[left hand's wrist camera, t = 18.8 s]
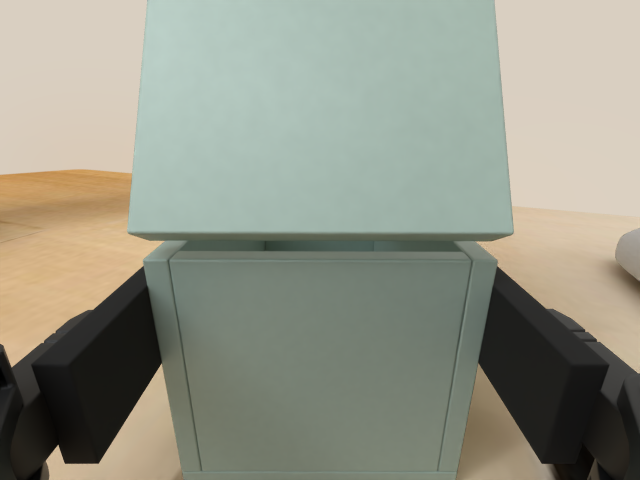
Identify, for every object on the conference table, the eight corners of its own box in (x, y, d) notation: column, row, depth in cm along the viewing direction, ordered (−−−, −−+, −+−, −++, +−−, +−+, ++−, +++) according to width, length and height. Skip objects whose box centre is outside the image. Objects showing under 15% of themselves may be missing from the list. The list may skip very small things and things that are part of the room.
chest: (259, 275, 29) (252, 166, 26) (379, 276, 29) (386, 166, 26) (184, 486, 13) (141, 259, 10) (455, 486, 13) (499, 260, 10)
